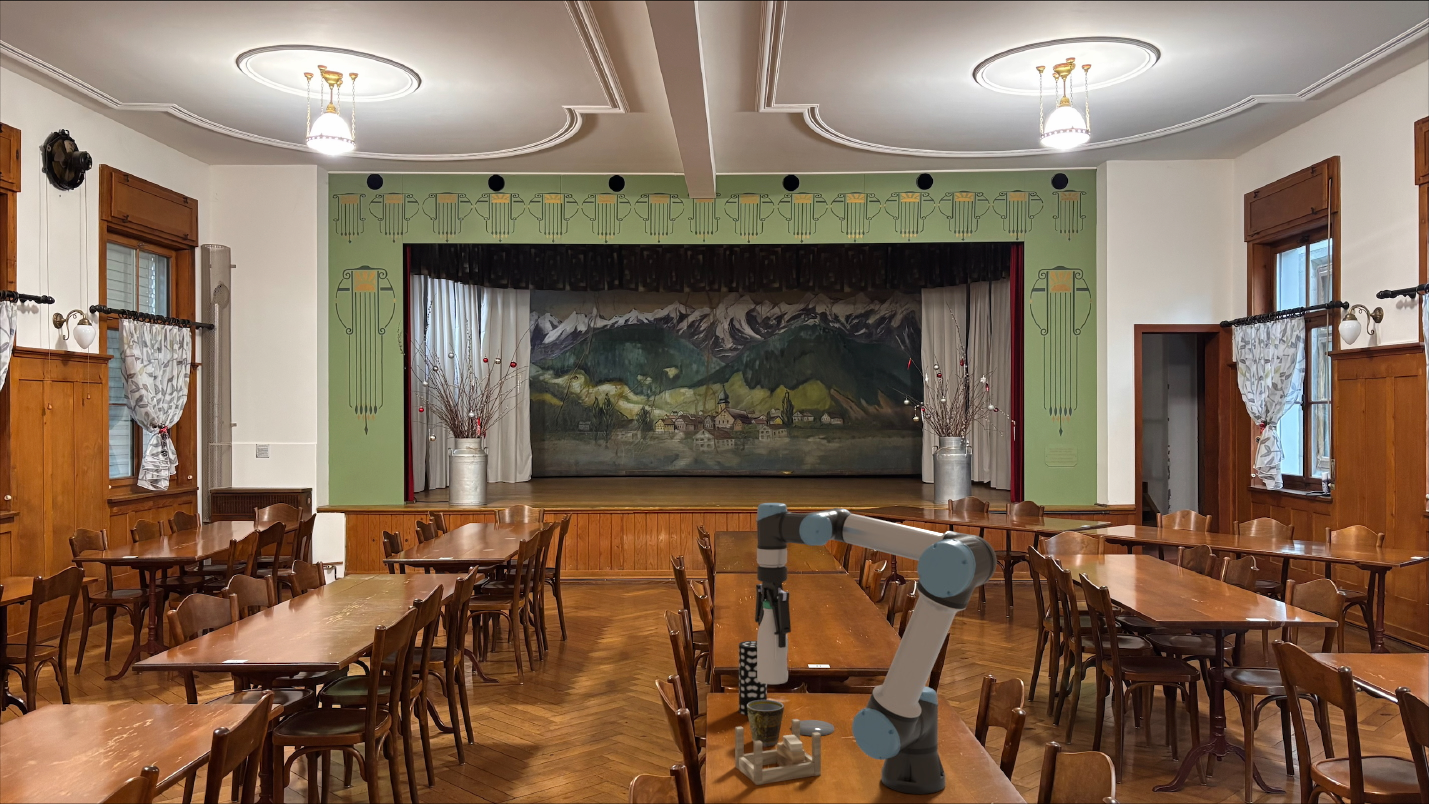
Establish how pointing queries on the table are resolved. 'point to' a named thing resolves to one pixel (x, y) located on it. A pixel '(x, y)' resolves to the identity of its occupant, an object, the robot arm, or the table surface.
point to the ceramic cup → (765, 721)
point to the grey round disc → (815, 727)
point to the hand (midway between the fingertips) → (772, 655)
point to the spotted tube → (749, 676)
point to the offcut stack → (790, 751)
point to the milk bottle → (769, 651)
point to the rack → (775, 759)
